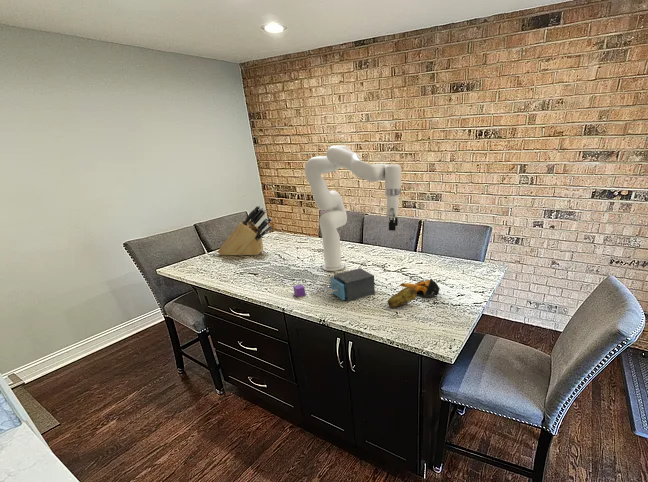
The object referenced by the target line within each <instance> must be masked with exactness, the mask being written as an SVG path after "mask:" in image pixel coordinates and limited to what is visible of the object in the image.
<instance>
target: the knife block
mask: <svg viewBox="0 0 648 482" xmlns="http://www.w3.org/2000/svg"><path fill="white" fill-rule="evenodd" d="M266 213H267V210H266V209H264V207H261V205H260V204H257V205H256V206H255V208H254V209H253V210H251V211H250V212H249V214H248V215H247V216H246V218H245V219H244V220H243V221H241V222H240V223H239V224H238V225H237V226H236V227H235V228H234V230H233V231H232V233H231V234H230V235H229V236H228V238H227V239H226V240H225V241H224V242H223V243H222V245H221V246H220V247H219V249H218V250H217V253H218V254H219V255H220V256H259V254H261V252H263V251H264V243H263V237H264V236H265V235H267V233H268V232H270V231H271V230H272V229H273V226H272V225H271V226H268V225H269V223H270V222H272V220H273V218H272V217H269V218H265V219H263V221H262V222H261V223H260V224H259V226H258V225H257V223H258V222H259V221H260V220H261V219H262V218H263V217H264V215H265V214H266ZM267 226H268V227H267ZM265 228H266V229H265ZM264 229H265V230H264Z"/></svg>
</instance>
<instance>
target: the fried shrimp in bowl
mask: <svg viewBox="0 0 648 482" xmlns="http://www.w3.org/2000/svg"><path fill="white" fill-rule="evenodd" d="M399 286H400V287H403V288H406V287H412V288H414V289H415V290H416V292H417V294H416V296H419V297H424V298H425V297H427V298H432V297H435V296H436V297H437V296H438V295H440V290H441V289H440V286H439V285H438V283H437V282H436V281H435V280H433V279H432V278H430V279H427V280H420V281H417V282H414V283H408V282H406V283H404V282H402V283H400V284H399Z"/></svg>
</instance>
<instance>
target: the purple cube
mask: <svg viewBox="0 0 648 482" xmlns="http://www.w3.org/2000/svg"><path fill="white" fill-rule="evenodd" d="M292 288H293V293H294V294H293V295H294V296H296V297H297V298H298V297H303V296H306V289H305V286H304V285H302V284H298V285H294V286H292Z"/></svg>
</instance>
